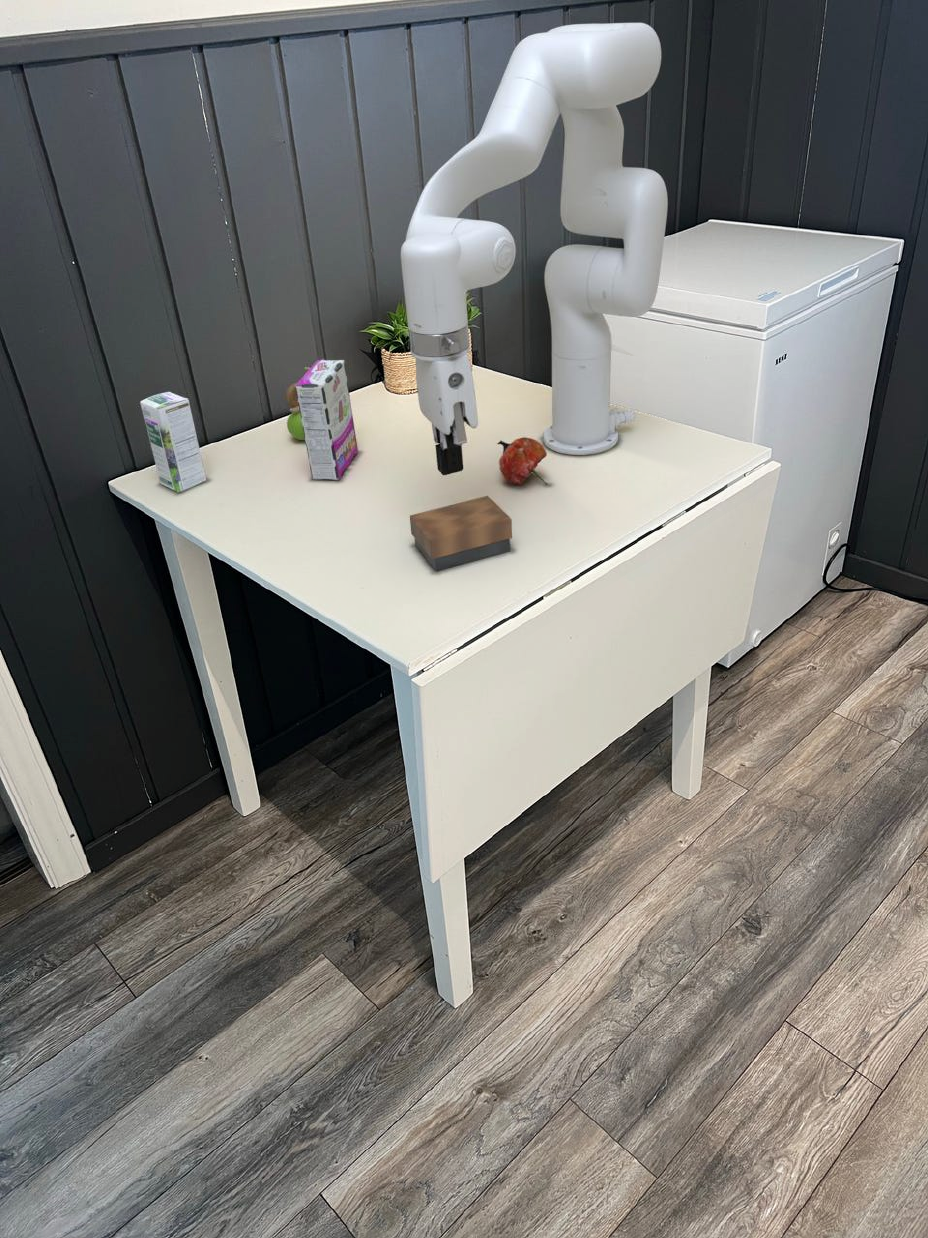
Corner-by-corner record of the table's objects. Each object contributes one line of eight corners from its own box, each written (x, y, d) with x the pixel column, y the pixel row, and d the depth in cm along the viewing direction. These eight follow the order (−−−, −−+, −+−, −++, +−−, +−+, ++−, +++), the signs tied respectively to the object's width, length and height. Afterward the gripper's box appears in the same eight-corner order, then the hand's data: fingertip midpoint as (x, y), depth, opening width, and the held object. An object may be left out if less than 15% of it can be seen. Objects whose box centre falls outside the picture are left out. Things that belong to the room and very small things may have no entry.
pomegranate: (549, 485, 152) (505, 441, 153) (571, 460, 146) (525, 414, 147) (523, 508, 148) (478, 463, 149) (544, 483, 142) (498, 436, 143)
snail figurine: (330, 433, 170) (320, 368, 163) (306, 447, 165) (295, 381, 158) (307, 428, 172) (296, 364, 165) (283, 441, 168) (271, 376, 161)
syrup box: (159, 484, 156) (136, 400, 148) (189, 471, 160) (169, 389, 152) (178, 493, 153) (156, 408, 145) (208, 480, 157) (189, 396, 148)
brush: (487, 495, 135) (511, 518, 129) (489, 525, 138) (512, 550, 132) (409, 515, 132) (430, 540, 126) (412, 546, 135) (433, 572, 128)
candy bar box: (331, 451, 163) (317, 358, 154) (358, 452, 162) (346, 358, 153) (309, 480, 154) (293, 383, 145) (339, 481, 153) (324, 384, 144)
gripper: (490, 350, 115) (498, 486, 125) (444, 318, 126) (454, 444, 137) (433, 363, 112) (446, 500, 123) (391, 329, 124) (406, 456, 135)
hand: (450, 470), depth 130 cm, fingers closed
